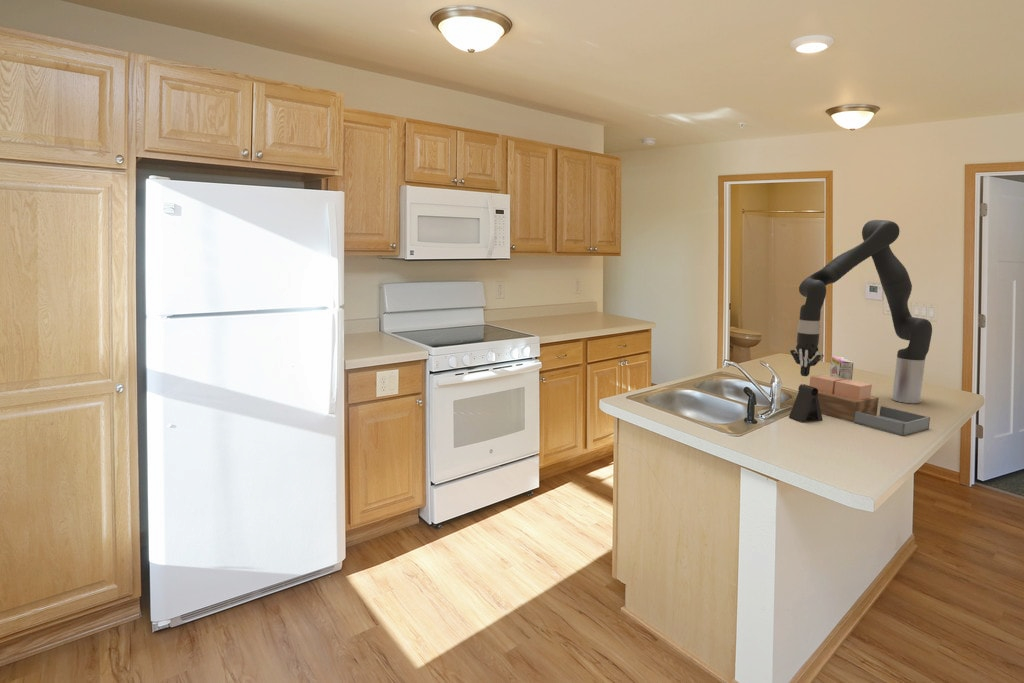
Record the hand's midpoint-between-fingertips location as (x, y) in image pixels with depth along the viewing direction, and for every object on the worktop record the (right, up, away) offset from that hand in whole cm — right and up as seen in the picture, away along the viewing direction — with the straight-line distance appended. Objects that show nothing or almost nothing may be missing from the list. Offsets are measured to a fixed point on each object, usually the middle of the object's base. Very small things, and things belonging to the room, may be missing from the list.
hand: (804, 375), depth 224 cm
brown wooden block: (+7, -13, -11) cm, 18 cm away
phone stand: (-10, -14, -20) cm, 26 cm away
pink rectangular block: (+4, -5, -7) cm, 10 cm away
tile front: (+9, -6, -16) cm, 19 cm away
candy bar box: (+17, -10, +7) cm, 21 cm away
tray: (+16, -15, -27) cm, 35 cm away
